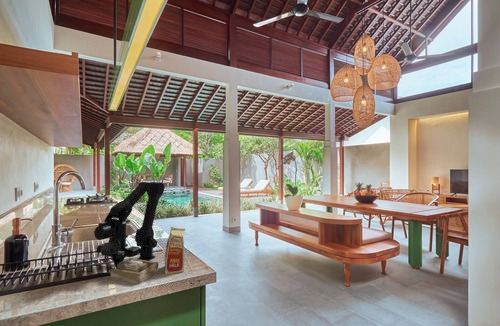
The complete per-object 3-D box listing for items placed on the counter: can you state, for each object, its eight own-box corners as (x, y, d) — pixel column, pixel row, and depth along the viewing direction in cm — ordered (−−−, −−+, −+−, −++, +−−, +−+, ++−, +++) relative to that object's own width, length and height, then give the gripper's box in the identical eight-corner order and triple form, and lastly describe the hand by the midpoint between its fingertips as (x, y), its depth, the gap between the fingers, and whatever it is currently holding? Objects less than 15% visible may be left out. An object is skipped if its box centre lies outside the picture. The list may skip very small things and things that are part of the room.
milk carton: (165, 274, 117) (166, 229, 117) (163, 266, 125) (165, 224, 125) (186, 271, 120) (187, 228, 120) (183, 264, 129) (184, 223, 129)
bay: (131, 267, 123) (131, 258, 123) (157, 270, 120) (158, 262, 120) (110, 278, 110) (110, 269, 110) (139, 283, 107) (140, 273, 107)
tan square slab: (127, 268, 120) (128, 258, 120) (147, 271, 118) (147, 260, 118) (115, 275, 113) (116, 264, 113) (136, 278, 111) (136, 267, 111)
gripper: (86, 236, 111) (85, 273, 112) (124, 241, 107) (122, 279, 107) (106, 230, 122) (105, 263, 122) (141, 234, 118) (140, 268, 118)
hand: (117, 268), depth 117 cm, fingers closed
